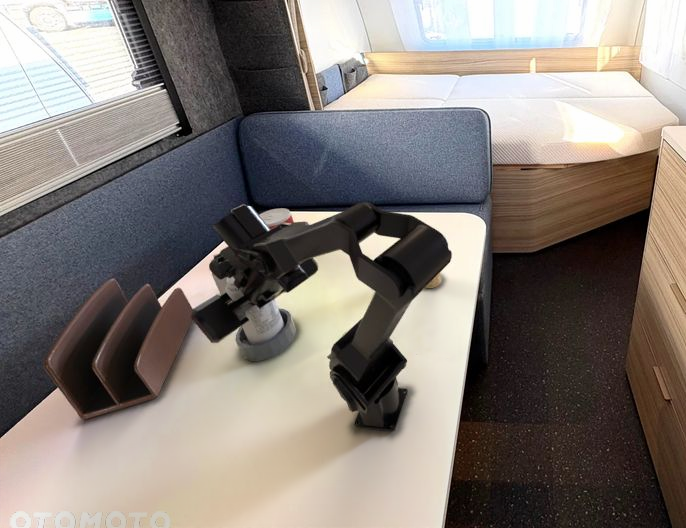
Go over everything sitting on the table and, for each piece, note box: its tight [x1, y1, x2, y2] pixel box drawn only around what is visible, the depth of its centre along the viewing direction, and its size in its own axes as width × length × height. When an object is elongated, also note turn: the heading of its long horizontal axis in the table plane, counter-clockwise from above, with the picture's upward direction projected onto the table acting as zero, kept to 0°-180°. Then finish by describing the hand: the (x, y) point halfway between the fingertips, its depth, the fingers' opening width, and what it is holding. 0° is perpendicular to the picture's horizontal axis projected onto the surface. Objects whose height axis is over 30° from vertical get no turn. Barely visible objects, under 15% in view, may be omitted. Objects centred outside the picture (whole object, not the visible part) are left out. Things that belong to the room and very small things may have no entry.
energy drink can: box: [226, 277, 285, 345], centre depth 70 cm, size 6×6×15 cm
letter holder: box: [43, 278, 194, 421], centre depth 67 cm, size 10×20×14 cm, turn 21°
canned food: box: [258, 207, 294, 229], centre depth 96 cm, size 8×8×11 cm
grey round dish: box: [234, 308, 297, 362], centre depth 73 cm, size 9×9×4 cm
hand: (251, 304), depth 70 cm, fingers closed on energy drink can, 6 cm apart
